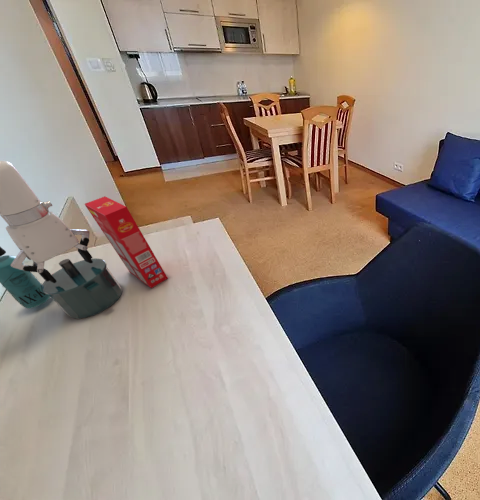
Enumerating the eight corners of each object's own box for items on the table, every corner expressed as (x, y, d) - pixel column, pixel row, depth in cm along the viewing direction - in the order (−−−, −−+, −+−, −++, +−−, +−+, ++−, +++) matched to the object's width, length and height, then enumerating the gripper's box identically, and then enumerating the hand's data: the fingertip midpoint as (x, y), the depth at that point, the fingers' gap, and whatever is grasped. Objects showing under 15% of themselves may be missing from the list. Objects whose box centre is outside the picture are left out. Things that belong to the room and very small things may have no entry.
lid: (59, 303, 75) (43, 286, 72) (34, 287, 81) (19, 271, 78) (118, 268, 85) (107, 252, 82) (92, 257, 91) (80, 241, 88)
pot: (87, 328, 80) (64, 302, 74) (54, 307, 88) (31, 282, 82) (136, 294, 89) (119, 269, 83) (103, 278, 97) (85, 254, 92)
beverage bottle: (21, 312, 87) (-36, 256, 76) (43, 295, 93) (-7, 241, 81) (39, 313, 86) (-16, 257, 75) (60, 296, 91) (12, 242, 80)
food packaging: (168, 278, 94) (126, 206, 80) (151, 288, 91) (104, 215, 76) (146, 263, 102) (104, 196, 87) (130, 272, 98) (84, 203, 84)
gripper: (60, 197, 79) (98, 250, 90) (-28, 230, 67) (27, 287, 78) (74, 201, 76) (112, 256, 86) (-16, 236, 64) (40, 295, 74)
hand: (71, 271), depth 82 cm, fingers open, 8 cm apart
